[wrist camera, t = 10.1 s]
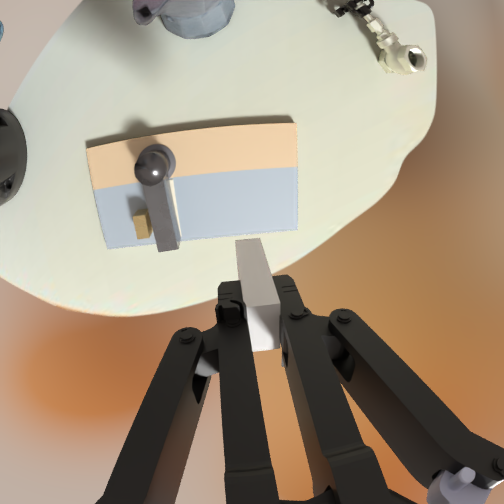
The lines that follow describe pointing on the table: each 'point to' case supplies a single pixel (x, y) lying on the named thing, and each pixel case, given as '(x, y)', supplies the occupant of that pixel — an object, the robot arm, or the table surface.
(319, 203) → the table surface
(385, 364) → the robot arm
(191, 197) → the door panel
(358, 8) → the valve
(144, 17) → the moka pot
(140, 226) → the block
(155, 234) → the latch bar
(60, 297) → the table surface
